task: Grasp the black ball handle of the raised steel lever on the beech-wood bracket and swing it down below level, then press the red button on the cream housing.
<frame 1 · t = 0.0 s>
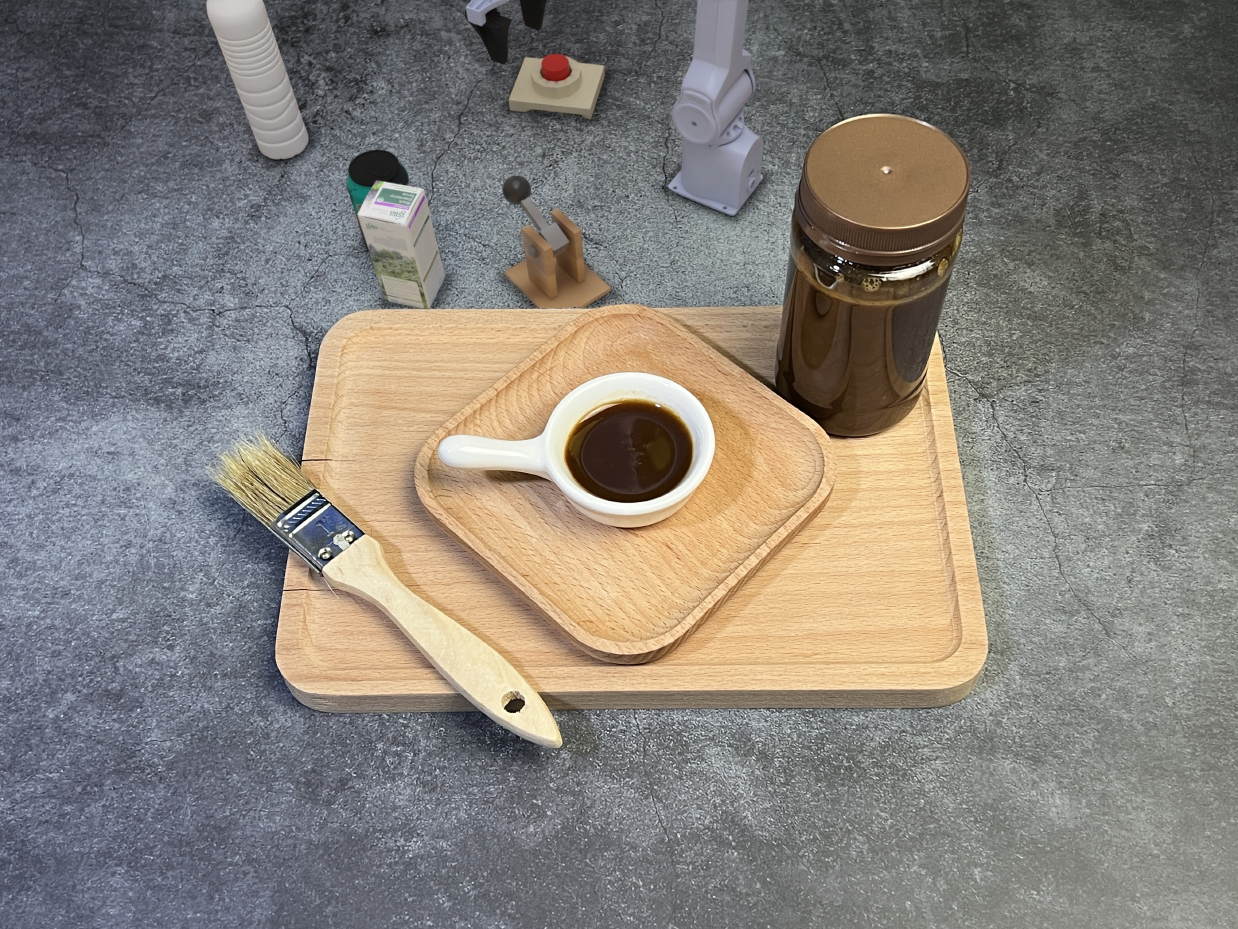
hand: (516, 43, 138), 10 cm above the worktop, tool pointing down, fingers open, 7 cm apart
button: (555, 67, 144), point 4 cm above the worktop, slide at 0.1 cm
bracket: (557, 286, 129), on the worktop
lever: (534, 214, 123), point 9 cm above the worktop, hinge at 25.0°
syrup box: (416, 292, 129), on the worktop
button box: (557, 92, 148), on the worktop
teal lidded canister: (395, 244, 133), on the worktop
water bottle: (288, 139, 144), on the worktop
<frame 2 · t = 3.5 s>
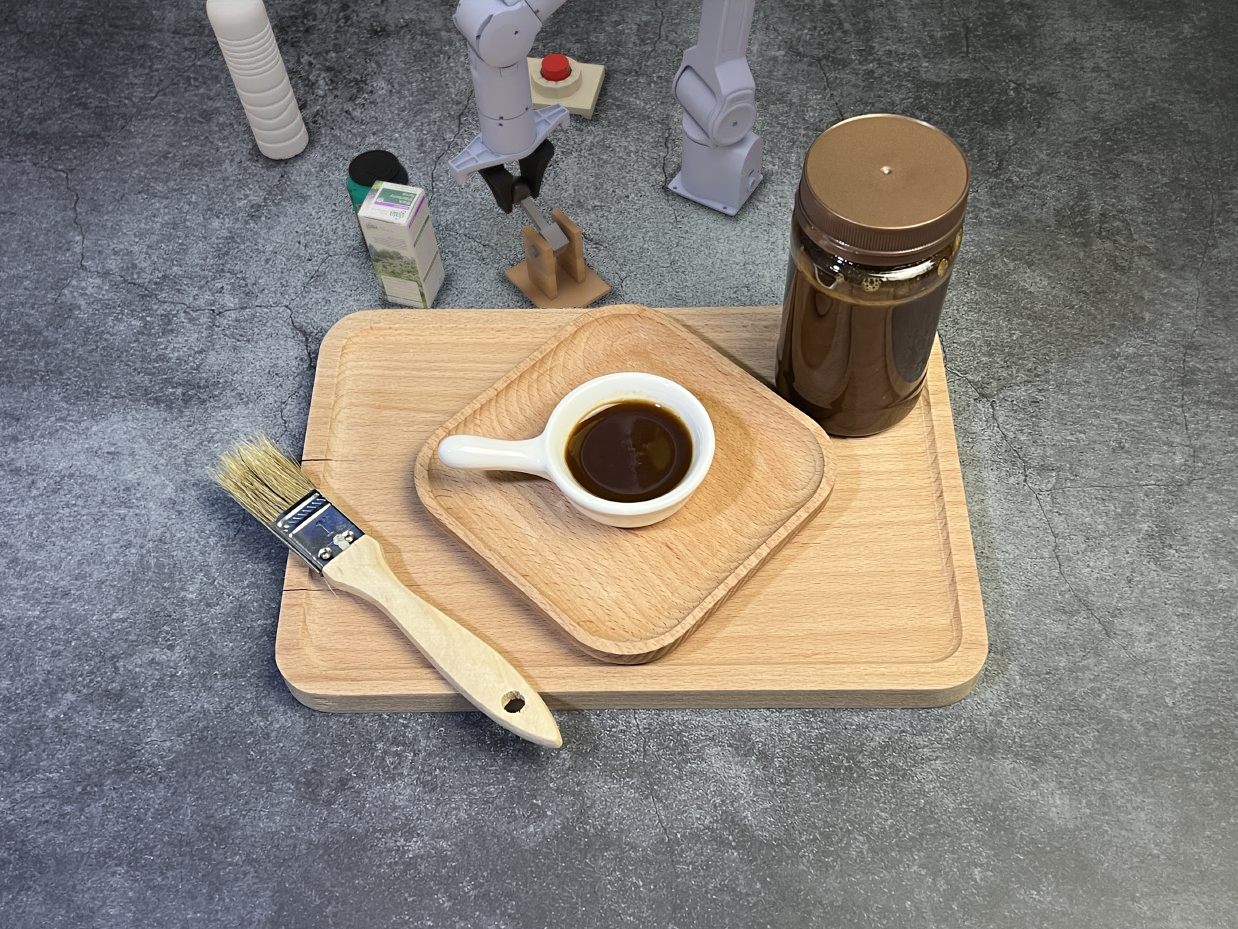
hand: (518, 200, 124), 9 cm above the worktop, tool pointing down, fingers closed on lever, 3 cm apart
lever: (534, 214, 123), point 9 cm above the worktop, hinge at 25.0°, touching gripper
everything else where it was.
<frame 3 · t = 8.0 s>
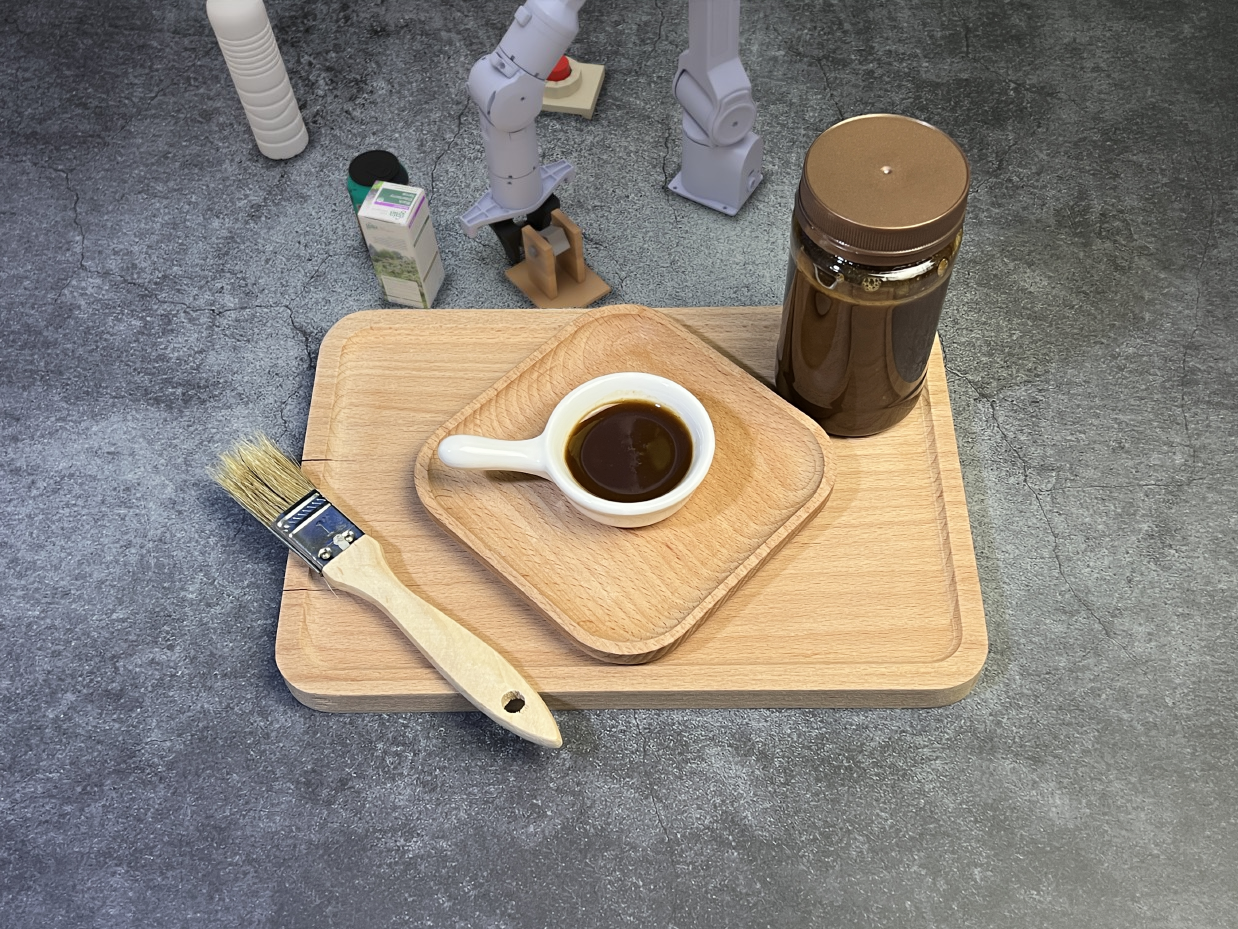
hand: (525, 249, 131), 1 cm above the worktop, tool pointing down, fingers closed on lever, 3 cm apart
lever: (537, 237, 125), point 6 cm above the worktop, hinge at -30.6°, touching gripper
everything else where it was.
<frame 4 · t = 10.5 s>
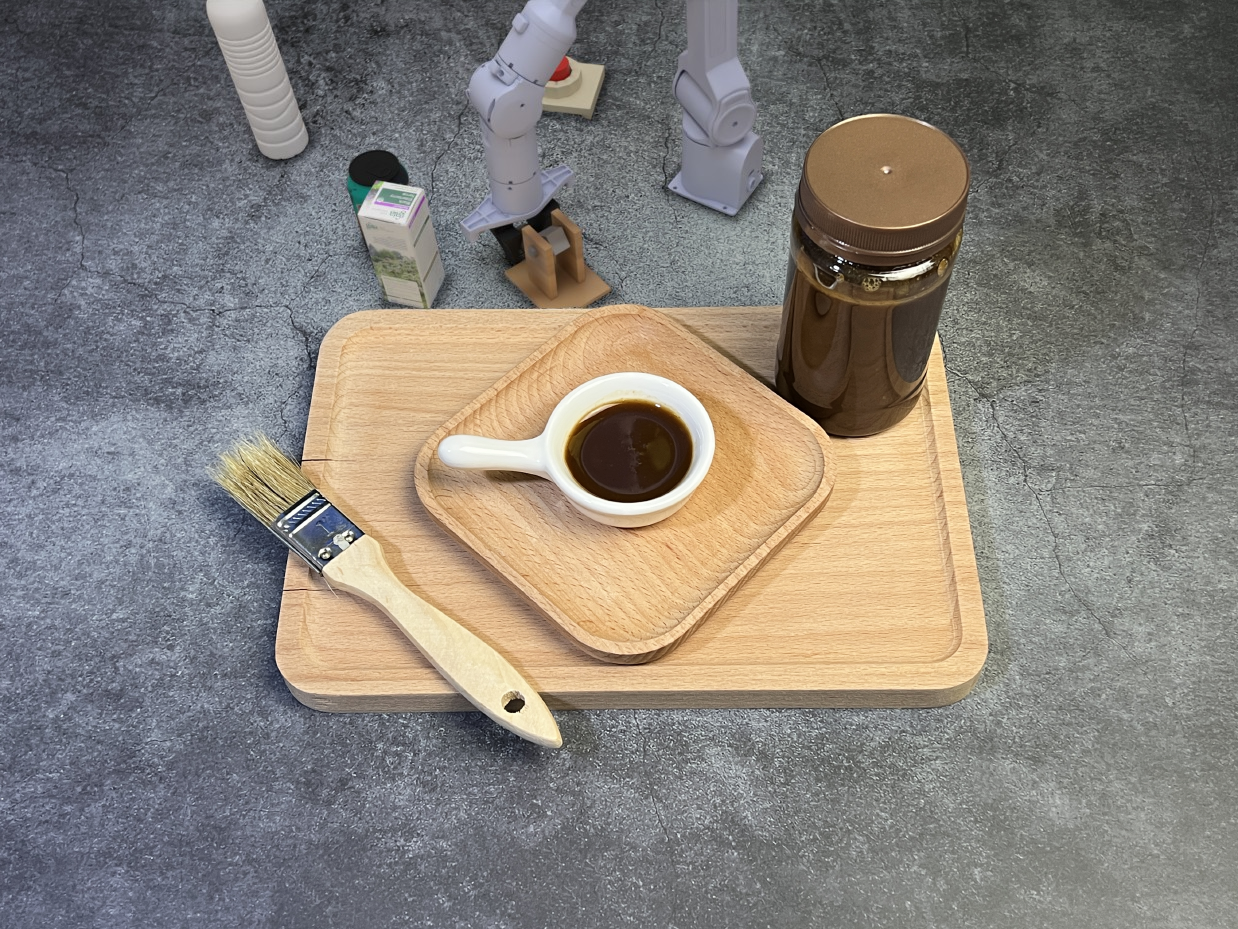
hand: (526, 254, 131), 0 cm above the worktop, tool pointing down, fingers closed on lever, 3 cm apart
lever: (538, 239, 125), point 5 cm above the worktop, hinge at -34.5°, touching gripper
everything else where it was.
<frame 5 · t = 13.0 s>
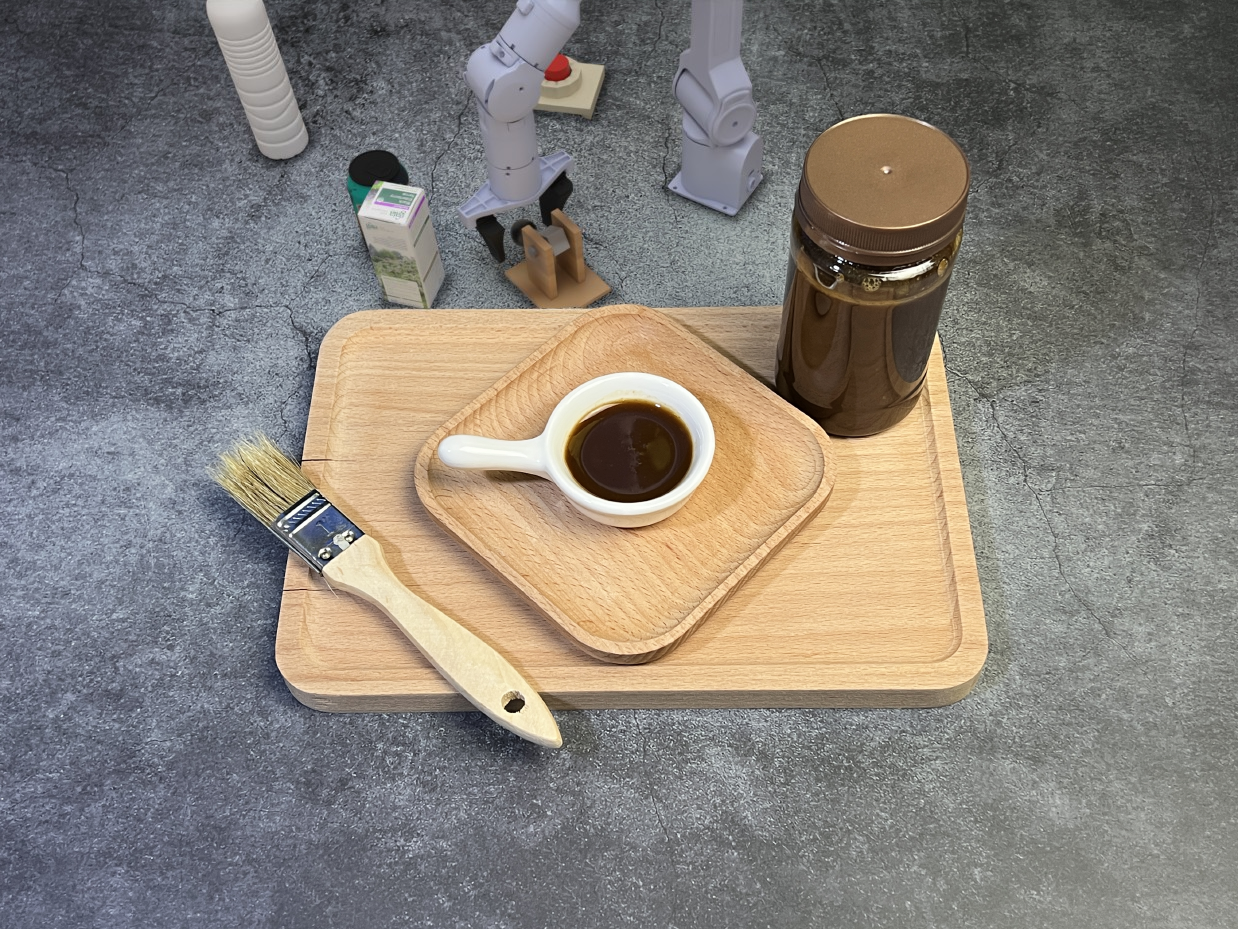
hand: (524, 242, 130), 2 cm above the worktop, tool pointing down, fingers open, 7 cm apart
lever: (537, 236, 125), point 6 cm above the worktop, hinge at -29.7°
everything else where it was.
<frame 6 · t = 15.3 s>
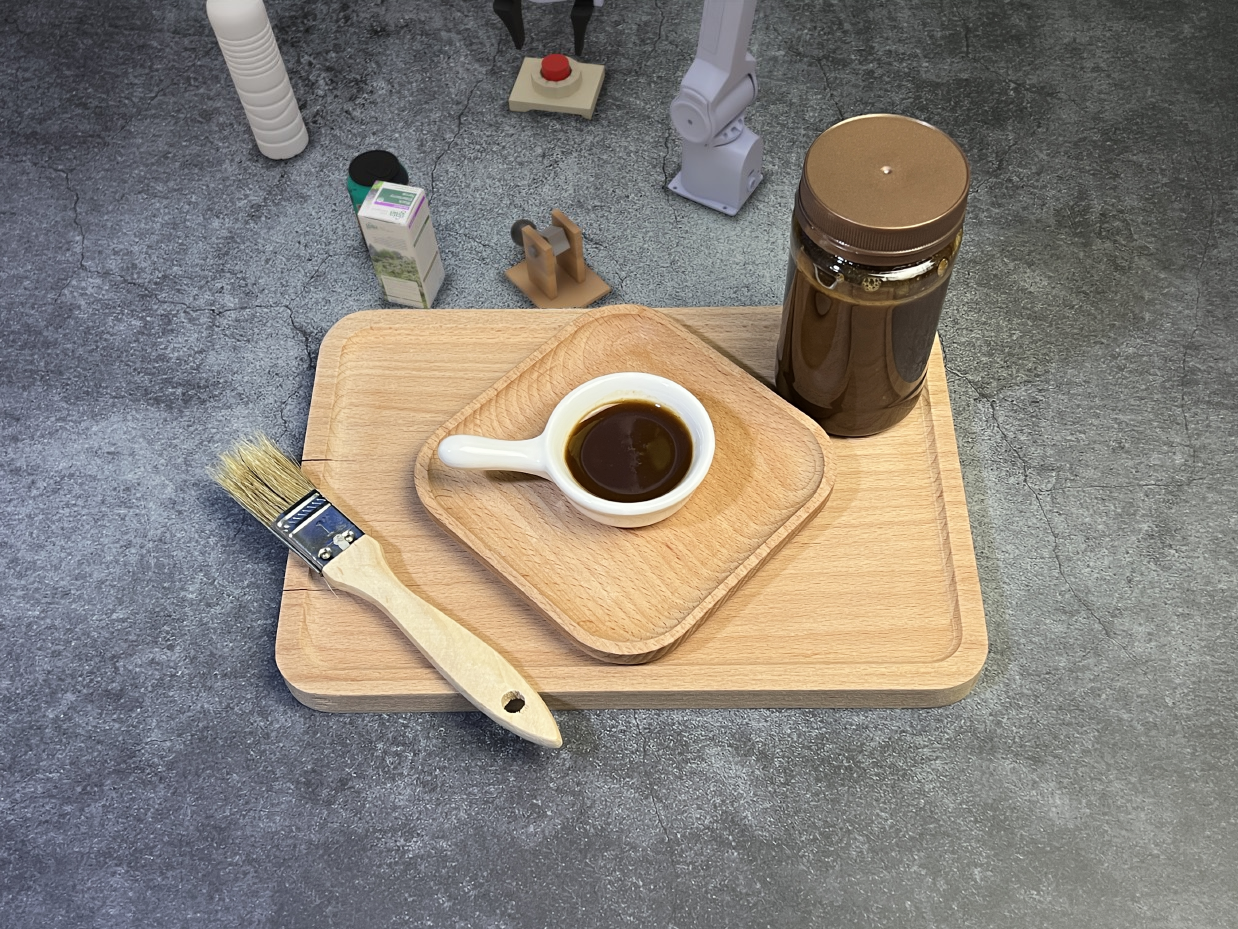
hand: (549, 47, 139), 9 cm above the worktop, tool pointing down, fingers open, 7 cm apart
nothing on the worktop moved.
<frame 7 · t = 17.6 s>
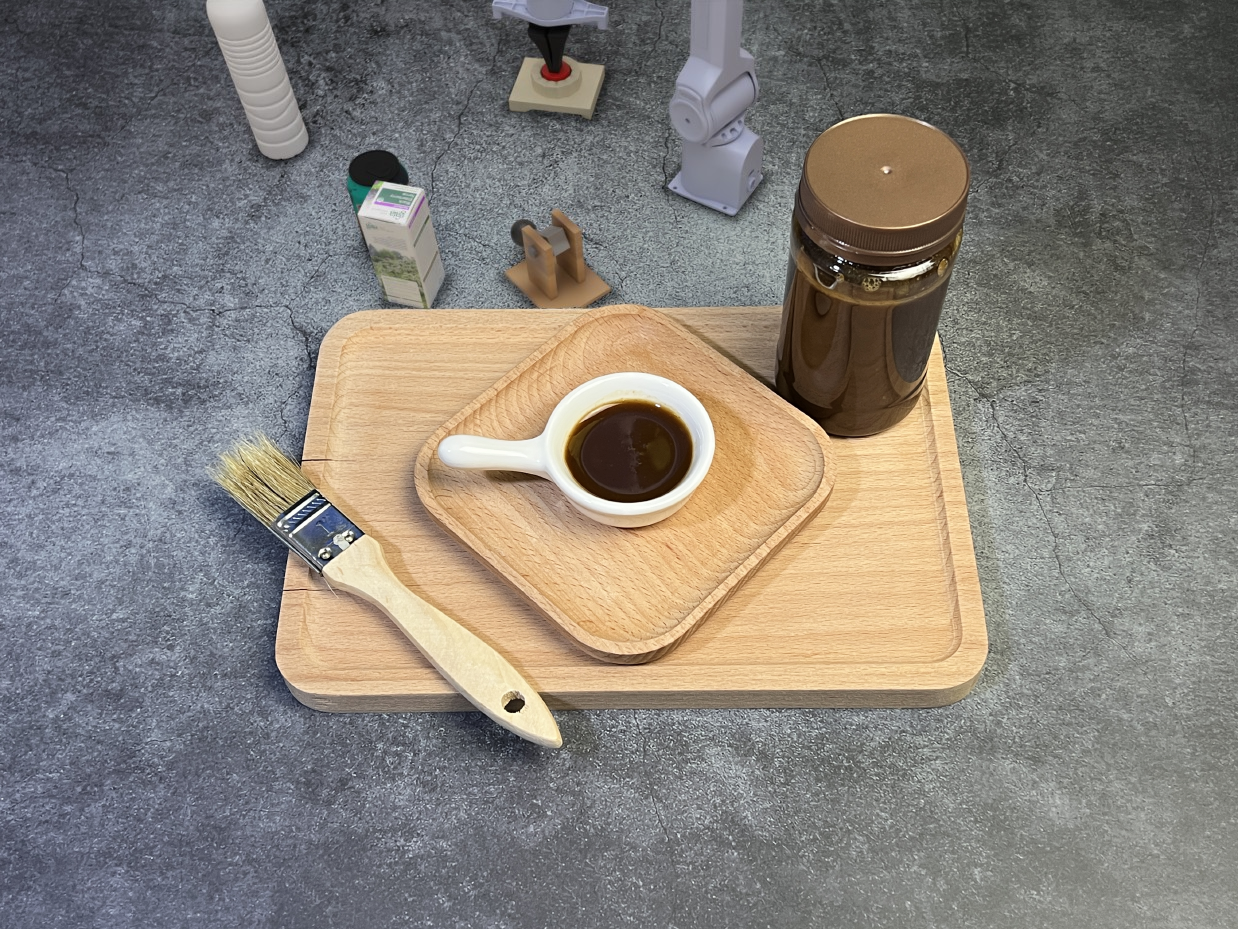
hand: (555, 68, 144), 4 cm above the worktop, tool pointing down, fingers closed, pressing on button
button: (556, 73, 145), point 3 cm above the worktop, slide at -0.9 cm, touching gripper
everything else where it was.
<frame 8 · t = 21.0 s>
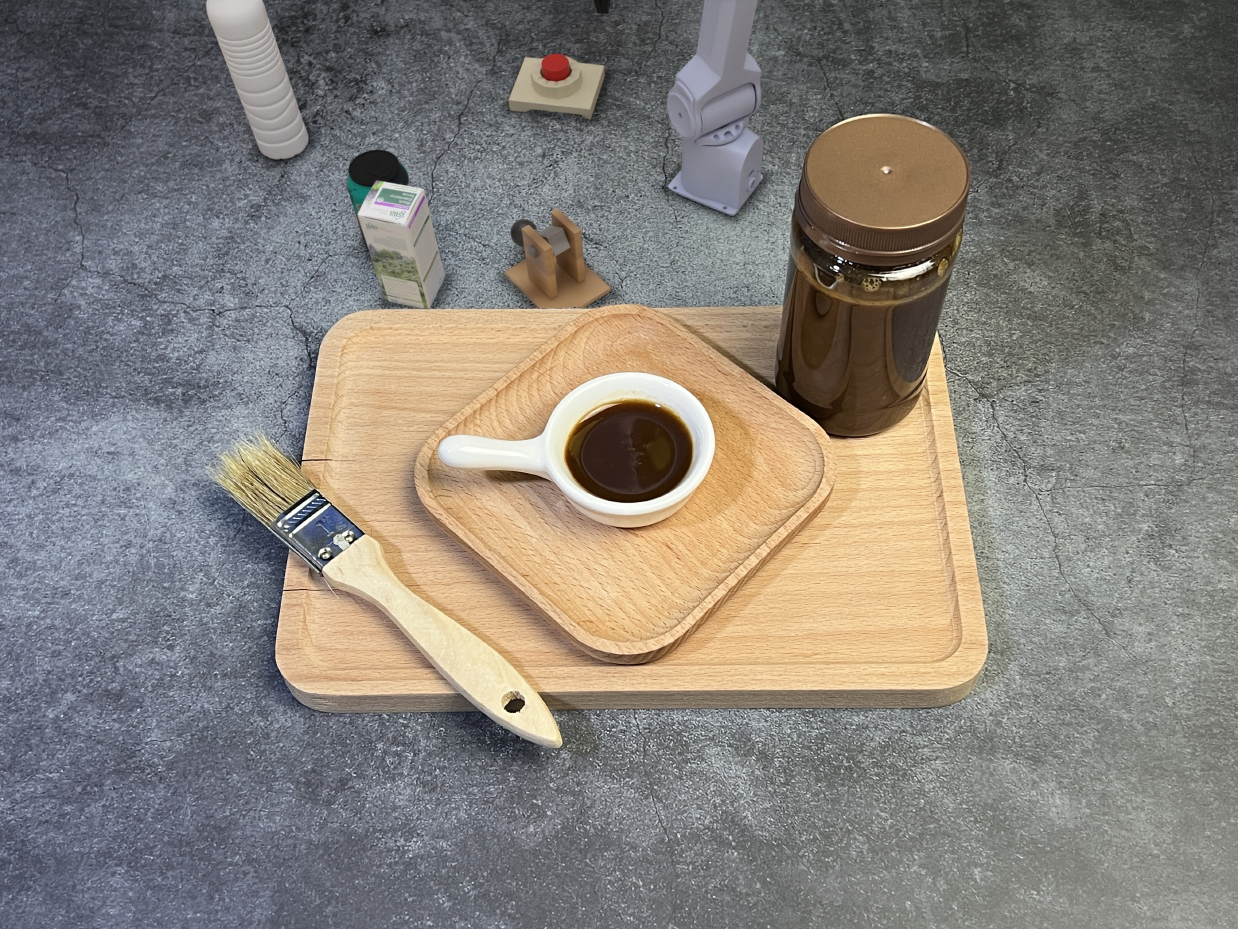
hand: (603, 8, 140), 10 cm above the worktop, tool pointing down, fingers closed
button: (555, 67, 144), point 4 cm above the worktop, slide at 0.1 cm
everything else where it was.
at the end: lever at -30° (first picture: +25°); button pushed in 1.2 cm at the most during the clip, back to where it started at the end; button slide at 0.1 cm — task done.
